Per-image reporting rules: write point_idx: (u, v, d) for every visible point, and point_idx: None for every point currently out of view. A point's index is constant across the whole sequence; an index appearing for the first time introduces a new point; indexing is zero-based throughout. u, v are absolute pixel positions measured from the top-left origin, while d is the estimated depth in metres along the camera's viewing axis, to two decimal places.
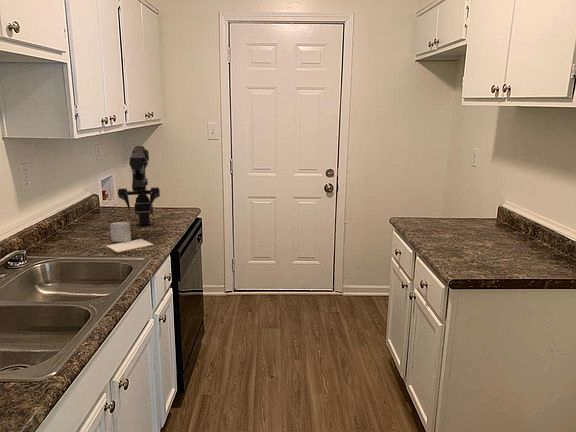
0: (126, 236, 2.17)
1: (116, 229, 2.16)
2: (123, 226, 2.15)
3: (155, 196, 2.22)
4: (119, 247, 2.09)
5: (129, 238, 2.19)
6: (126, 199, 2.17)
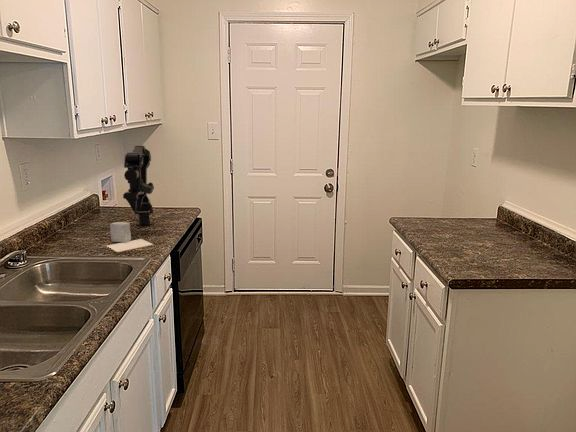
0: (126, 236, 2.17)
1: (116, 229, 2.16)
2: (123, 226, 2.15)
3: None
4: (119, 247, 2.09)
5: (129, 238, 2.19)
6: (136, 201, 2.26)
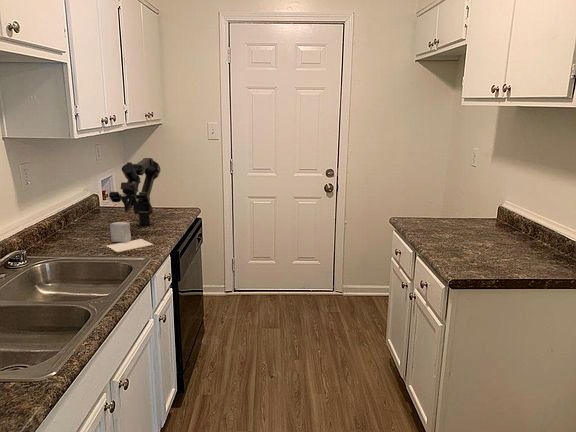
0: (126, 236, 2.17)
1: (116, 229, 2.16)
2: (123, 226, 2.15)
3: (134, 200, 2.28)
4: (119, 247, 2.09)
5: (129, 238, 2.19)
6: (124, 201, 2.26)
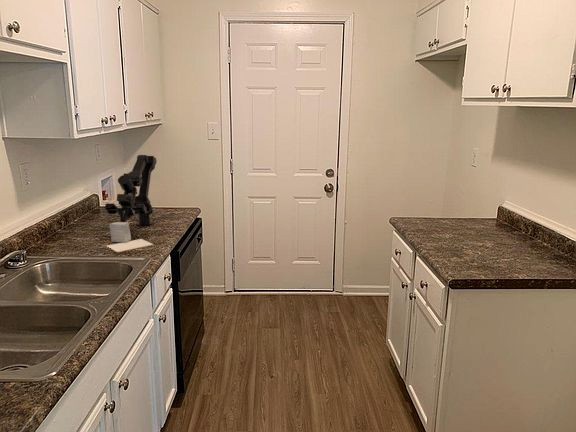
0: (126, 236, 2.16)
1: (116, 229, 2.16)
2: (122, 226, 2.15)
3: (131, 212, 2.23)
4: (119, 247, 2.09)
5: (129, 238, 2.19)
6: (120, 213, 2.21)
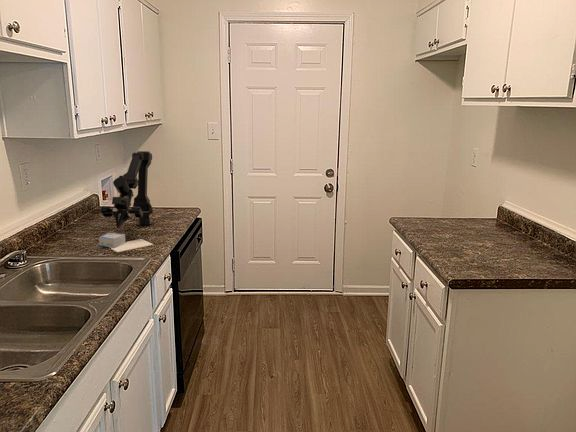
0: (122, 242, 2.13)
1: None
2: (114, 247, 2.09)
3: (127, 215, 2.18)
4: (119, 247, 2.09)
5: (123, 237, 2.14)
6: (116, 216, 2.16)
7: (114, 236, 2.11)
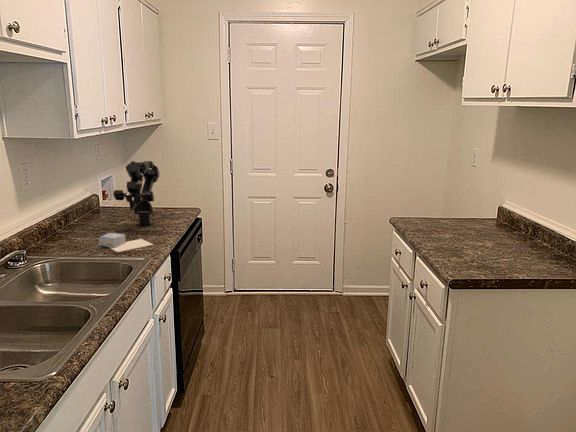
0: (122, 242, 2.13)
1: None
2: (114, 247, 2.09)
3: (139, 199, 2.32)
4: (119, 247, 2.09)
5: (123, 237, 2.14)
6: (129, 200, 2.29)
7: (114, 236, 2.11)
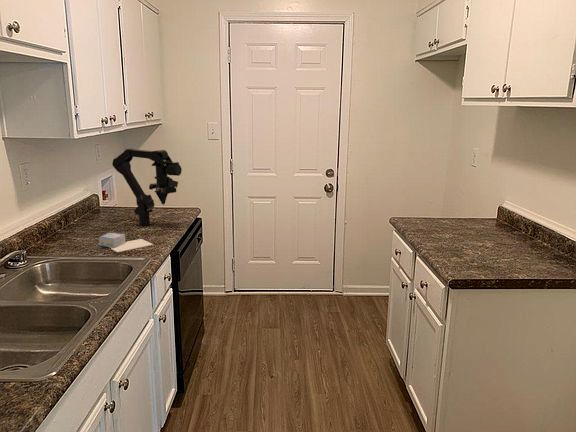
0: (122, 242, 2.13)
1: None
2: (114, 247, 2.09)
3: None
4: (119, 247, 2.09)
5: (123, 237, 2.14)
6: None
7: (114, 236, 2.11)
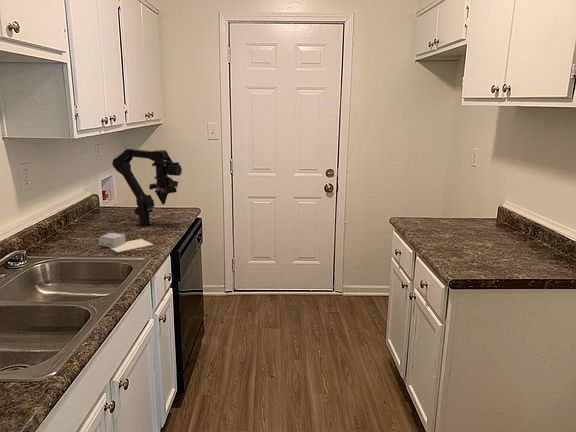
0: (122, 242, 2.13)
1: None
2: (114, 247, 2.09)
3: None
4: (119, 247, 2.09)
5: (123, 237, 2.14)
6: None
7: (114, 236, 2.11)
